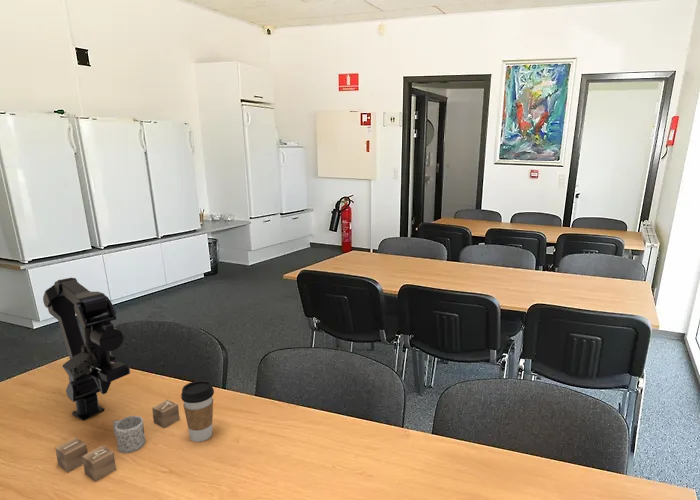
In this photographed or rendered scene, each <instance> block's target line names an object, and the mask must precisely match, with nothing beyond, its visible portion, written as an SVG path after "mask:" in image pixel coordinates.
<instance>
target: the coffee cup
mask: <svg viewBox="0 0 700 500" xmlns="http://www.w3.org/2000/svg"><path fill="white" fill-rule="evenodd" d="M214 391H215V390H214V388H213V383H212V382H211V381H210V380H196V381H191V382H189V383H186V384H185V385H184V386H182V389H181V395H180V396H181V400H182V401H183V408H184V409H183V410H184V414H185V419H186V420H185V421H186V424H187V429H188V435H189V439H190V440H191V441H192V442H196V443H197V442H198V443H199V442H200V443H201V442H204V441H207V440H208V439H210V438H212V435H213V418H214V399H213V396H214V393H215V392H214Z"/></svg>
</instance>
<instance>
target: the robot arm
mask: <svg viewBox="0 0 700 500" xmlns="http://www.w3.org/2000/svg"><path fill="white" fill-rule="evenodd" d="M42 300H43V305H44V307H45V308H47V310H48V314H49V315H51V316H52V317H54V319H56V320H57V321H58V325H59V327H60V328H59V329H60V331H61V334H62V337H63V341H64V344H65V348H66V351H67V353H68V354H67V355H68V357H69V360H67V361H66V362H64V363H63V364H62V365H61V366H62V368H63V370H64V372H66V374H67V375H68V381H69V382H68V384H67V385H66V386H67V387H66V390H65V392H66V395H67V398H68V399H69V400H71V402H72V403H75V407H76V408H75V409H76V410H75V411H73V412H71V414H72V415H73V416H75V417H76V418H78V419H79V420H81V421H85V420H87V419H89V418H91V417H93V416H95V415H97V414H100V413H102V412H103V411H105V408H104V407H102V406H101V405H99V397H98V393H100V394H101V395H105V394H107V393H108V391H109V388H110V386H111V384H112V382H113V381H115V380H118V379H121V378H123V377H125V376H128V375H130V374H131V368H130V365H128V364H126V363H123V362H122V361H116V362H113V361H115V360H116V356H115V355H113V354H112V352H113V351H115V350H117V349H119V348H120V346H122V344H123V342H124V335H123V332H122V331H121V330H119V329H117V328H115V327H114V325H115V324H114V323H112V321H115V320H117V316H116V315H117V311H116V309H115V307H114V305H113V304H112V301H111V299H109V297H108V296H107V295H105V293H104V292H100V291H90V290H89V289H88V288H86V287H85V286H83V285H82V284H80V283H79V282H78V279H77V278H76V277H67V278H62V279H58V280H57V281H55V282H54V284H53V285H51V286H50V287H49V288H47V289H46V290H45V291H44V294H43V297H42ZM78 321H79V322H80V324H81V326H82V330H83V331H82V332H83V335H82V332H81V328H80V325H79V322H78Z"/></svg>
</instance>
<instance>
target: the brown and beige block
mask: <svg viewBox="0 0 700 500" xmlns="http://www.w3.org/2000/svg"><path fill="white" fill-rule="evenodd" d="M151 409H152V418H153V423H154V424H155V425H157V426H159V427H161V428H163V429H166V428H168V427H169V426H171V425H173V424H175V423H176V422H178V421H180V411H179V409H180V408H179V404H177V403H175V402H174V401H171V400H169V399H166V400H164V401H162V402H160V403H158V404H157V405H155V406H152V408H151Z"/></svg>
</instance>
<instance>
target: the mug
mask: <svg viewBox="0 0 700 500" xmlns="http://www.w3.org/2000/svg"><path fill="white" fill-rule="evenodd" d="M143 419H144V418H143V417H141V416H139V415H131V416H126V417H124V418H121V419H119V420H118V419H117V420H114V421H113V423H112V428H113V433H114V436H116V443H117V451H118V452H119V453H122V454H130V453H134V452H136V451H140V449H142V448H143V447H144V446H145V445H146V435H145V428H144V427H145V426H144V420H143Z"/></svg>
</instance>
